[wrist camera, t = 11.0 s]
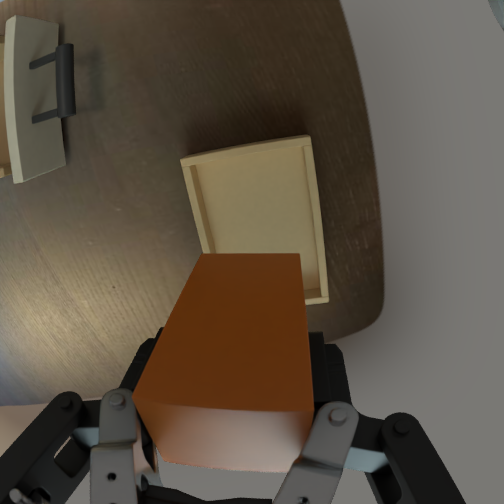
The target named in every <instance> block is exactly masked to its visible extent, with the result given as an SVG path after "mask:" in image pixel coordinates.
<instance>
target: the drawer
mask: <svg viewBox="0 0 504 504" xmlns="http://www.w3.org/2000/svg"><path fill="white" fill-rule="evenodd" d="M58 29H59V24H58V23H54V22H49V21H45V20H40V19H36V18H31V17H26V16H20V15H15V16H13V17H12V18H10V19H8V20H7V21H6V31H5V36H4V35H0V178H2V177H5V176H8V175H10V174H13V180H14V184H16V183H21V182H25V181H27V180H29V179H32V178H34V177H37V176H39V175H42V174H44V173H47V172H49V171H52V170H55V169H57V168H60V167H63V166H65V165H66V161H65V153H64V145H63V137H62V127H61V118H64V117H69V116H73V115H75V114H76V105H75V88H74V45H73V44H62V45H59V46H58Z"/></svg>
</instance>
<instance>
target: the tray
mask: <svg viewBox="0 0 504 504" xmlns="http://www.w3.org/2000/svg"><path fill="white" fill-rule="evenodd" d="M311 144H312V143H311V137H310V136H309V135H299V136H292V137H285V138H278V139H272V140H265V141H259V142H253V143H248V144H242V145H236V146H231V147H226V148H221V149H216V150H211V151H206V152H201V153H196V154H192V155H188V156H186V157H184V158H182V159H180V161H181V165H182V170H183V174H184V178H185V182H186V187H187V191H188V195H189V199H190V203H191V207H192V211H193V215H194V219H195V223H196V227H197V231H198V235H199V238H200V242H201V246H202V250H203V253H300V260H301V268H302V277H303V286H304V295H305V305H310V304H318V303H325V302H329V296H328V281H327V269H326V258H325V247H324V237H323V228H322V219H321V210H320V202H319V193H318V186H317V178H316V171H315V164H314V157H313V150H312V145H311Z"/></svg>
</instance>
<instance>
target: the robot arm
mask: <svg viewBox="0 0 504 504" xmlns="http://www.w3.org/2000/svg"><path fill="white" fill-rule="evenodd" d="M163 329H164V327H161V328H160V329H159V331H158V333H157V335H156V337H155V339H154V338H149V339H147V340H146V341H145V342H144V343H143V344H142V345H140V347H139V349H138V351H137V353H136V356H135V357H134V359H133V361H132V363H131V365H130V367H129V368H128V370H127V372H126V374H125V376H124V378H123V380H122V382H121V384H120V386H119V388H116V389H113V390H110V391H109V392H107V393H106V394H105V395H104V396H103V398H102V399H101V400H92V401H82V399H81V397H80V396H79V395H78V394H77V393H75V392H71V391H67V392H63V393H61V394H59V395H57V396H56V397H55V398H54V399H53V400H52V401H51V402H50V403H49V404H48V405H47V407H46V408H45V409H44V410H43V411H42V412H41V413H40V414H39V415H38V416H37V417H36V419H34V421H33V422H32V423H31V424H30V425H29V426H28V427H27V428H26V429H25V430H24V431H23V433H22V434H21V435H20V436H19V437H18V438H17V439H16V441H14V442H13V444H12V445H11V446H10V447H9V448H8V449H7V450H6V451H5V453H4V454H3V455H2V456H1V457H0V504H65V502H66V501H67V500H68V498H69V497H70V496H71V494H72V493H73V492H74V490H75V489H76V487H77V486H78V485H79V484H80V482H81V481H82V480H83V478H84V477H85V476H86V474H87V473H88V472H89V470H90V504H331V502H332V499H333V497H334V494H335V492H336V489H337V486H338V483H339V481H340V478H341V475H342V472H343V468H348V469H353V470H358V471H364V473H365V475H366V477H367V480H368V482H369V484H370V486H371V489H372V491H373V494H374V496H375V498H376V501H377V503H378V504H466V503H465V501H464V499H463V497H462V495H461V494H460V492H459V490H458V488H457V486H456V485H455V483H454V481H453V480H452V477H451V476H450V474H449V472H448V471H447V469H446V467H445V465H444V464H443V462H442V460H441V458H440V457H439V455H438V454H437V452H436V450H435V448H434V446H433V445H432V443H431V441H430V440H429V438H428V436H427V435H426V433H425V432H424V430H423V428H422V427H421V425H420V424H419V422H418V420H417V419H416V418H415V417H413V416H412V415H410V414H407V413H401V412H399V413H394V414H391V415H389V416H388V417H387V418H385V420H382V419H376V418H371V417H367V416H364V415H362V414H360V413H359V412H358V411H357V410H356V409H355V408H354V407H353V405H352V402H351V397H350V391H349V386H348V380H347V375H346V370H345V365H344V359H343V354H342V352H341V350H340V349H339V348H338V347H337V345H336V344H324V338H323V332H308V336H309V347H310V359H311V371H312V384H313V398H314V414H313V420H312V426H311V429H310V432H309V434H308V436H307V439H306V441H305V443H304V445H303V448H302V450H301V452H300V454H299V456H298V458H296V459H295V460H294V462H293V463H292V465H291V467H290V469H289V471H288V473H287V475H286V477H285V479H284V482H283V483H282V485H281V487H280V489H279V491H278V493H277V495H276V497H275V499H274V501H273V503H272V499H256V498H233V499H225V500H215V501H205V500H201V499H199V498H196V497H194V496H191V495H189V494H186V493H183V492H181V491H179V490H176V489H171V488H165V487H163V485H162V482H161V479H160V475H159V469H158V461H157V452H156V446H155V444H154V442H153V440H152V438H151V436H150V434H149V432H148V430H147V428H146V426H145V425H144V423H143V421H142V418H141V416H140V414H139V412H138V410H137V408H136V406H135V404H134V402H133V400H132V394H133V392H134V390H135V388H136V386H137V384H138V381H139V379H140V377H141V375H142V373H143V371H144V368H145V366H146V364H147V362H148V360H149V358H150V356H151V354H152V352H153V349H154V347H155V345H156V343H157V341H158V339H159V337H160V335H161V333H162V331H163ZM69 436H70V437H71V439H70V440H69V441H68V443H67V444H66V445H65V446H64V447H63V449H62V450H61V451H60V452H59V453H58V455H57V456H56V457H55V458H54V456H55V453H56V452H57V451H58V450H59V448H60V447H61V446H62V445H63V444H64V442H65V441H66V440H67V439H68V438H69Z"/></svg>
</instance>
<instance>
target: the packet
mask: <svg viewBox="0 0 504 504" xmlns="http://www.w3.org/2000/svg"><path fill="white" fill-rule="evenodd" d="M132 400H133V402H134V404H135V406H136V408H137V410H138V412H139V414H140V416H141V418H142V421H143V423H144V425H145V426H146V428H147V430H148V432H149V434H150V436H151V438H152V440H153V442H154V444H155V446H156V447H157V449H158V451H159V453H160V455H161V456H162V458H163V460H164V461H165V462H170V463H176V464H183V465H190V466H197V467H204V468H213V469H223V470H235V471H251V472H288V471H289V469H290V467H291V465H292V463H293V462H294V460H295V459H296V458H298V456H299V454H300V452H301V450H302V448H303V445H304V443H305V441H306V439H307V436H308V434H309V432H310V429H311V426H312V420H313V414H314V398H313V384H312V371H311V359H310V347H309V336H308V325H307V315H306V305H305V295H304V286H303V277H302V268H301V260H300V253H202V254H201V255H200V257H199V259H198V261H197V263H196V265H195V267H194V269H193V271H192V273H191V275H190V277H189V279H188V281H187V283H186V285H185V287H184V288H183V290H182V292H181V294H180V296H179V298H178V300H177V302H176V304H175V306H174V308H173V310H172V312H171V314H170V317H169V319H168V321H167V323H166V325H165V327H164V329H163V331H162V333H161V335H160V337H159V339H158V341H157V343H156V345H155V347H154V349H153V352H152V354H151V356H150V358H149V360H148V362H147V364H146V366H145V368H144V371H143V373H142V375H141V377H140V379H139V381H138V384H137V386H136V388H135V390H134V392H133V394H132Z"/></svg>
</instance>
